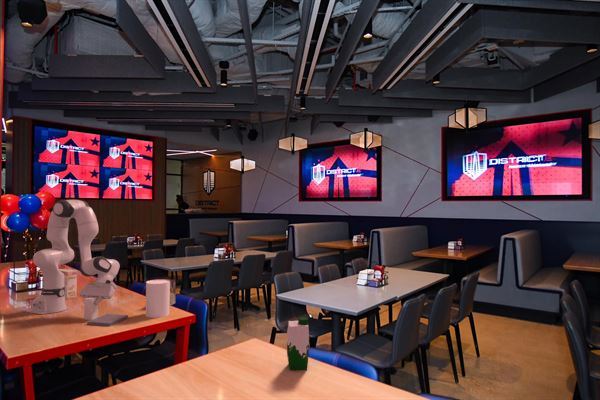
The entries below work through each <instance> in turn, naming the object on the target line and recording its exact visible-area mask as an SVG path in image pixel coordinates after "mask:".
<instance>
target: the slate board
mask: <svg viewBox="0 0 600 400" xmlns="http://www.w3.org/2000/svg"><path fill="white" fill-rule="evenodd" d="M128 318H129V314H116V313H115V314H114V313H105V314H103V315H101V316H98V318H95V319H93V320H87V325H91V326H103V327H111V326H113V325H115V324H118V323H120V322H122V321H124V320H126V319H128Z"/></svg>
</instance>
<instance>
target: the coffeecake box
mask: <svg viewBox="0 0 600 400" xmlns="http://www.w3.org/2000/svg"><path fill="white" fill-rule="evenodd" d="M58 269H59V268H58ZM59 271H60V272H62V273H63V274H64V286H65V294H64V295H65V300H72V299H76V298H77V292H78V291H77V290H78V289H77V285H78V279H77V278H78V270H77V269H71V268H61V269H59Z"/></svg>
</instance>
